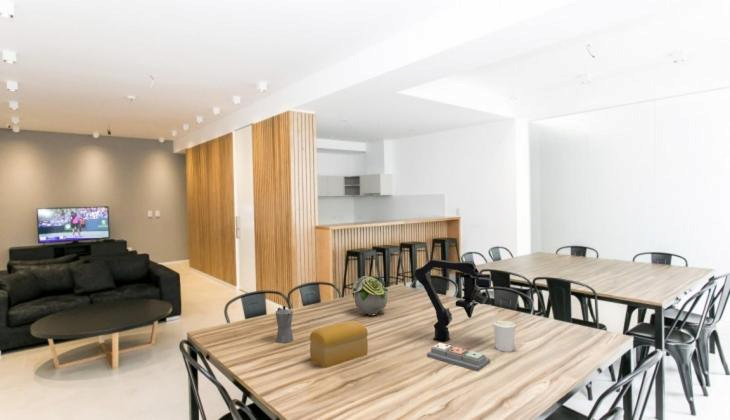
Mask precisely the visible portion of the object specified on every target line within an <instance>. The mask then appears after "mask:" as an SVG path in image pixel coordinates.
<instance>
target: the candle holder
mask: <svg viewBox="0 0 730 420" xmlns="http://www.w3.org/2000/svg"><path fill="white" fill-rule="evenodd" d="M515 329H516V323H514V322H512V321H507V320H497V321H494V322H493V330H494V331H493V332H494V333H493V334H494V346H495V349H496V350H497V351H501V352H505V353H507V352H513V351H514V349H515V332H516V330H515Z"/></svg>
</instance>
